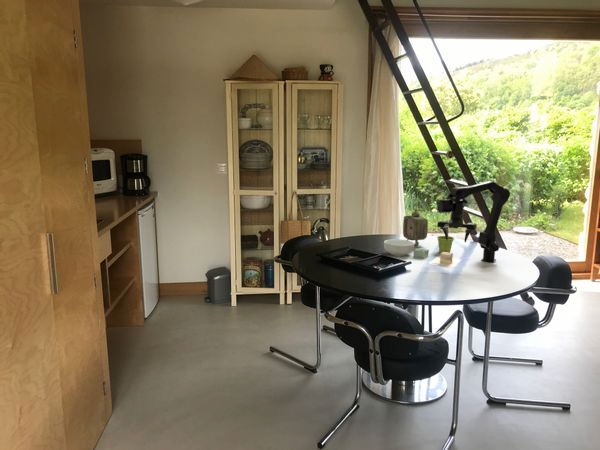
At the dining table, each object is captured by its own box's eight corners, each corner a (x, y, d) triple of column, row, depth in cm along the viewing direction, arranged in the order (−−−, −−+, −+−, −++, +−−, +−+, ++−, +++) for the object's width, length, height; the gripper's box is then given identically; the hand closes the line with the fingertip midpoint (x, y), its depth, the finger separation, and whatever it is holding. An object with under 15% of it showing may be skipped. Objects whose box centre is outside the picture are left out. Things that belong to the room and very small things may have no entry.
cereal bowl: (405, 259, 259) (406, 246, 258) (378, 255, 269) (378, 242, 268) (418, 253, 272) (419, 241, 271) (391, 249, 282) (392, 237, 281)
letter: (437, 256, 266) (437, 256, 266) (461, 259, 259) (461, 259, 259) (427, 263, 251) (427, 263, 251) (453, 267, 244) (453, 267, 244)
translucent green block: (417, 255, 269) (418, 248, 269) (428, 257, 266) (428, 249, 265) (413, 257, 265) (413, 250, 264) (423, 259, 261) (424, 251, 260)
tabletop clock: (402, 242, 300) (404, 202, 296) (415, 241, 303) (417, 202, 299) (414, 247, 287) (416, 206, 282) (427, 246, 290) (430, 205, 285)
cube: (442, 260, 256) (443, 251, 255) (452, 262, 254) (452, 253, 253) (439, 263, 252) (440, 253, 251) (449, 264, 249) (450, 255, 249)
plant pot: (456, 253, 273) (457, 238, 272) (443, 254, 270) (444, 239, 268) (446, 249, 282) (447, 235, 280) (432, 251, 278) (433, 236, 277)
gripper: (434, 212, 246) (433, 242, 249) (472, 215, 237) (471, 246, 240) (441, 209, 256) (439, 238, 259) (477, 212, 246) (476, 242, 249)
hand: (456, 241), depth 251 cm, fingers open, 9 cm apart
